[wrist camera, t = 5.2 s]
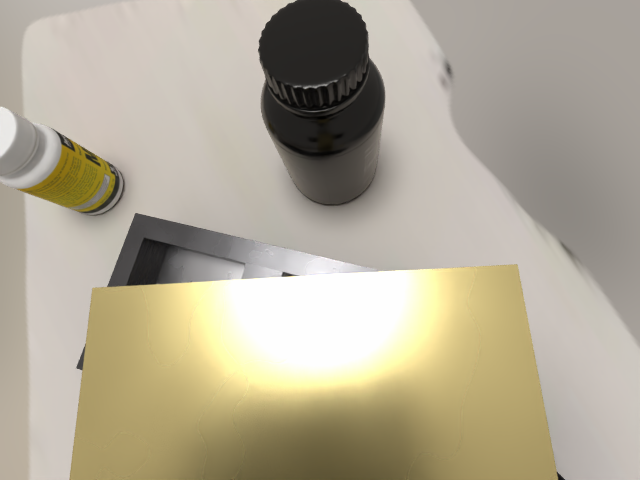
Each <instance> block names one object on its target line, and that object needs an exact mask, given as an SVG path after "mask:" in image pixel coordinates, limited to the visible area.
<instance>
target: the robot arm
mask: <svg viewBox="0 0 640 480" xmlns="http://www.w3.org/2000/svg"><path fill="white" fill-rule="evenodd" d="M557 476H558V480H565V479H564V478H563V477H562V476H561V475H560V474H559V473H558V472H557Z"/></svg>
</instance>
